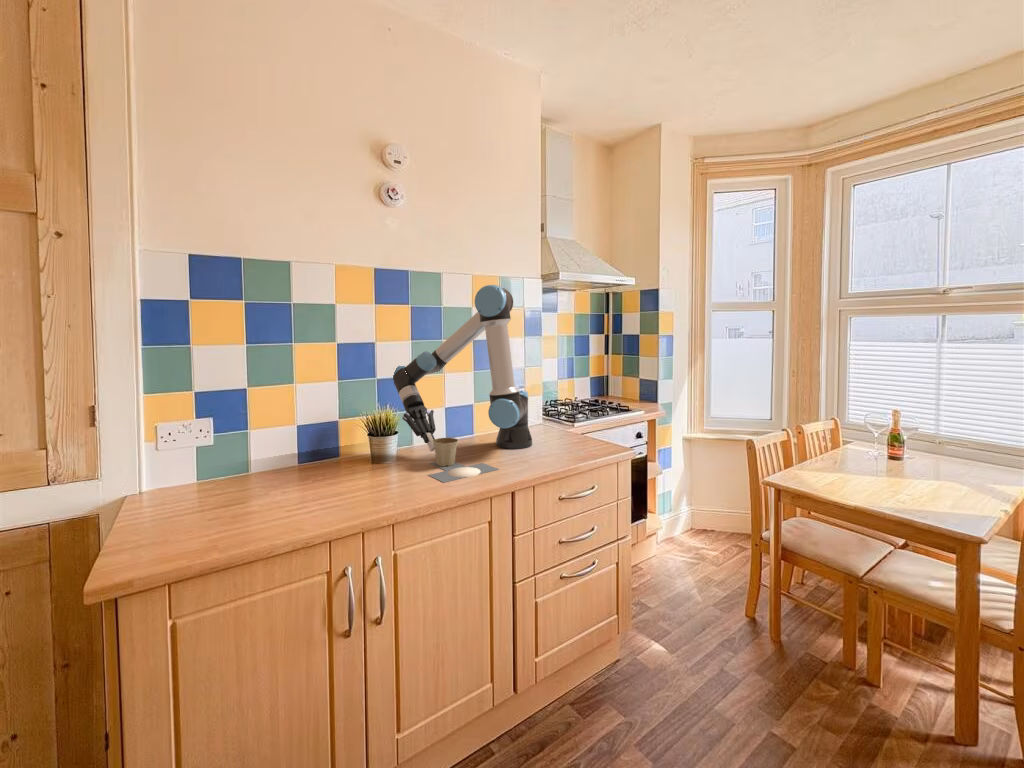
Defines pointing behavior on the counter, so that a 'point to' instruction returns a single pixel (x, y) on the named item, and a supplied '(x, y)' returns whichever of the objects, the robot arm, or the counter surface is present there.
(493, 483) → the counter surface
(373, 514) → the counter surface
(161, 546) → the counter surface
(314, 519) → the counter surface
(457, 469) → the T mat
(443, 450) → the flower pot
